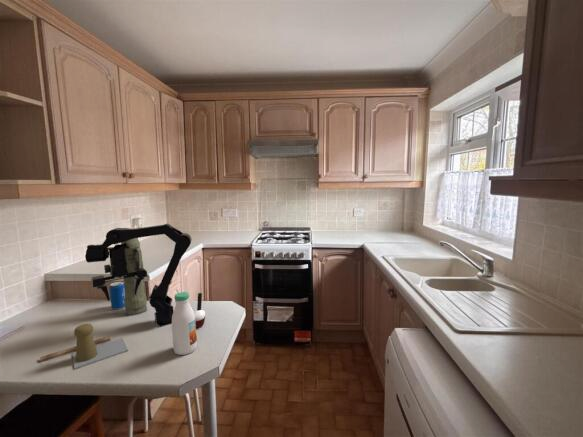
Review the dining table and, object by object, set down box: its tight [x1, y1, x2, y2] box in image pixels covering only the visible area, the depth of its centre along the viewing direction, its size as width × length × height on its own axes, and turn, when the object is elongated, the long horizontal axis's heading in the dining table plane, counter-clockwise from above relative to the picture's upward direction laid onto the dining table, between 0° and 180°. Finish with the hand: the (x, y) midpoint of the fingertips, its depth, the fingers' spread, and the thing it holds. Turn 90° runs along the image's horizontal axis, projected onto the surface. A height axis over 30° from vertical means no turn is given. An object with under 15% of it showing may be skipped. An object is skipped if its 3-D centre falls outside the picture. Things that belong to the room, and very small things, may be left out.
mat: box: [72, 337, 129, 370], centre depth 98 cm, size 15×11×1 cm
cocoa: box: [194, 292, 206, 329], centre depth 115 cm, size 10×6×12 cm, turn 155°
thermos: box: [120, 238, 148, 316], centre depth 130 cm, size 9×12×35 cm
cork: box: [73, 323, 98, 362], centre depth 95 cm, size 6×6×11 cm
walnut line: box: [39, 335, 112, 363], centre depth 101 cm, size 20×2×1 cm, turn 130°
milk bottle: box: [171, 291, 198, 356], centre depth 98 cm, size 8×8×20 cm
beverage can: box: [109, 281, 125, 311], centre depth 136 cm, size 6×6×12 cm
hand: (122, 297), depth 114 cm, fingers open, 9 cm apart
